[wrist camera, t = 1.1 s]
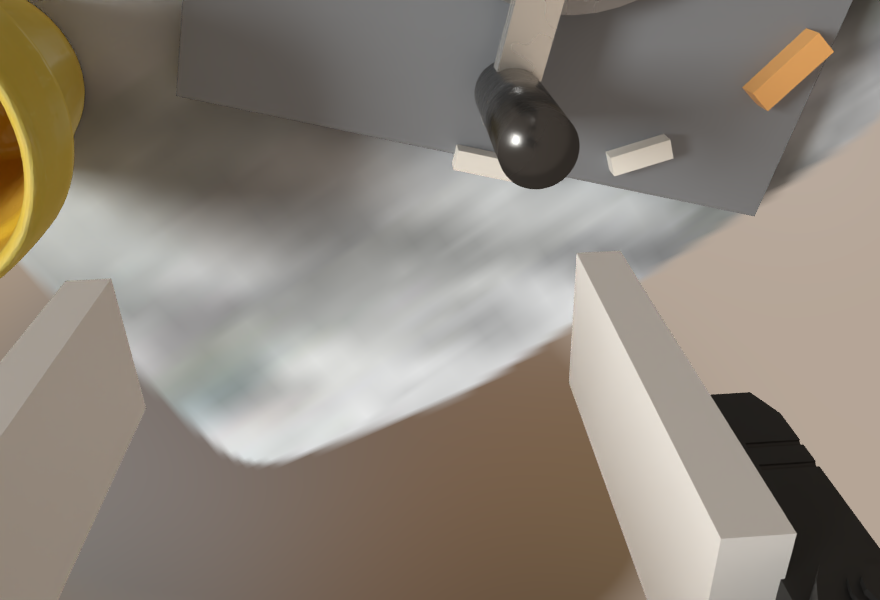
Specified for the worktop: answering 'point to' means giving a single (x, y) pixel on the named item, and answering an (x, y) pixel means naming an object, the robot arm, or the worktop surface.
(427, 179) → the worktop surface
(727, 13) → the dial plate
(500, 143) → the dial
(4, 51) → the plant pot
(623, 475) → the robot arm
